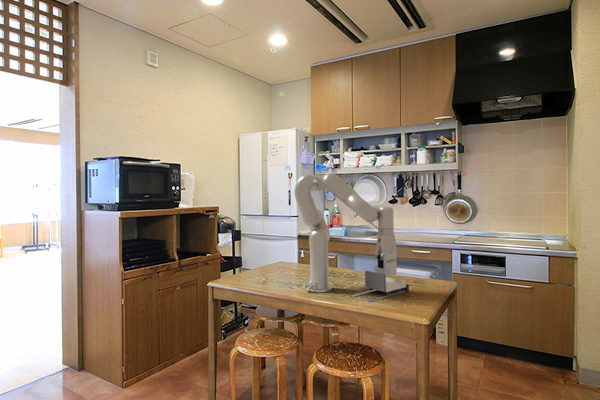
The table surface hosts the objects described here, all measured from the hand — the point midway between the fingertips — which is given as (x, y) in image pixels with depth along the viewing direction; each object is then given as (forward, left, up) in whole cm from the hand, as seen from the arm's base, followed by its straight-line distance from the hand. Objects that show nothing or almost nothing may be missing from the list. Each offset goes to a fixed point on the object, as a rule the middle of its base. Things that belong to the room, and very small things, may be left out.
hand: (386, 266), depth 176 cm
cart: (-1, 0, -12) cm, 12 cm away
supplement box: (0, 0, -4) cm, 4 cm away
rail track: (-6, 0, -13) cm, 14 cm away
